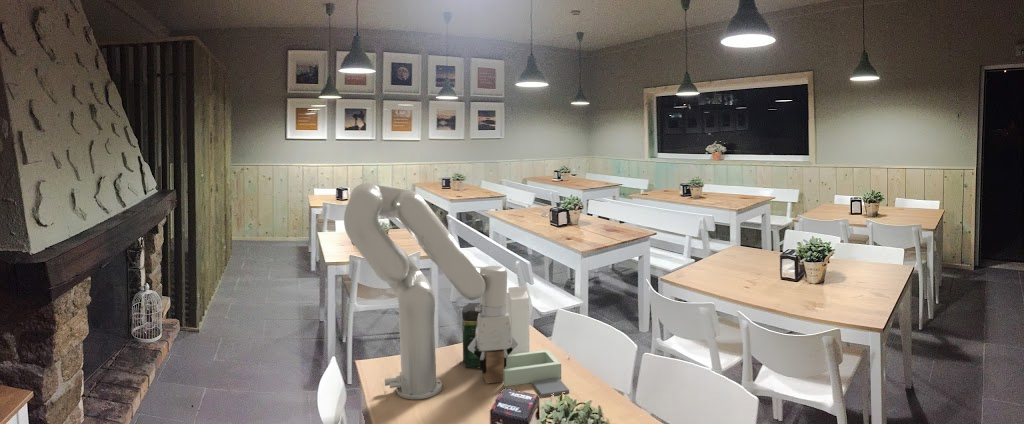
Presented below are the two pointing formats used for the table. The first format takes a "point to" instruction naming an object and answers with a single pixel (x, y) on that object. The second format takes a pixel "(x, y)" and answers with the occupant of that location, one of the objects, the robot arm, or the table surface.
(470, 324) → the coffee jar
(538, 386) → the coaster
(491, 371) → the walnut block
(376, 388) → the table surface
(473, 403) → the table surface
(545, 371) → the pale green u-shaped bracket
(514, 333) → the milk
